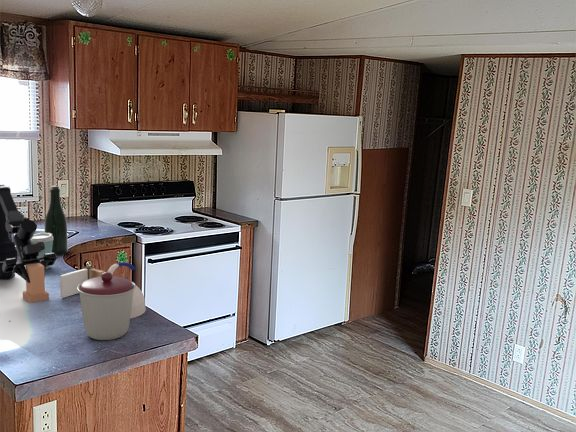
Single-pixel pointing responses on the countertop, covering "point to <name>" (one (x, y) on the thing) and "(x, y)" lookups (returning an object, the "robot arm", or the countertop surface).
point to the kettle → (138, 297)
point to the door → (72, 282)
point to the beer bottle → (56, 223)
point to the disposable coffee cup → (47, 241)
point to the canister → (106, 306)
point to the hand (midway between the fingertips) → (36, 281)
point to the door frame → (93, 272)
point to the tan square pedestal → (35, 284)
